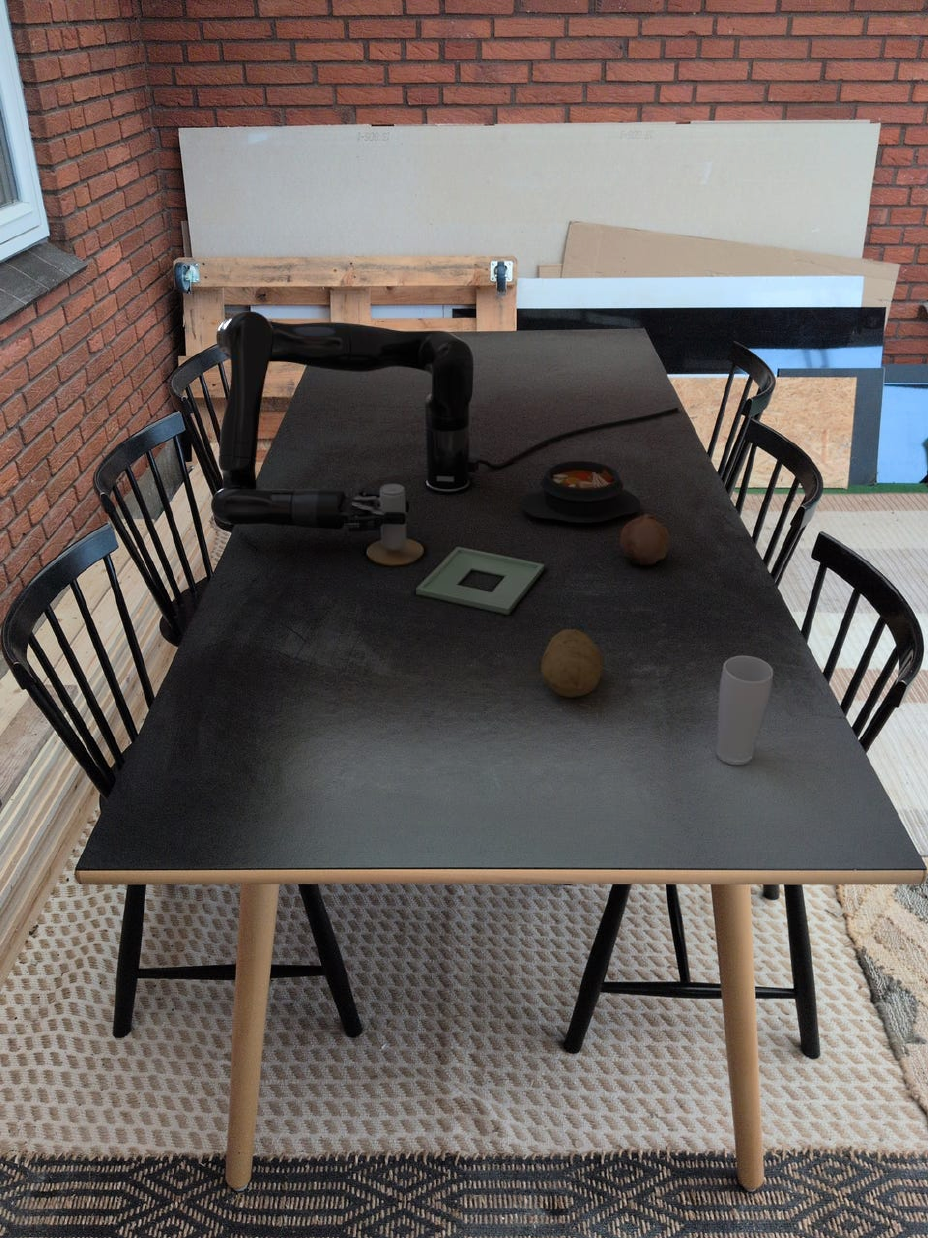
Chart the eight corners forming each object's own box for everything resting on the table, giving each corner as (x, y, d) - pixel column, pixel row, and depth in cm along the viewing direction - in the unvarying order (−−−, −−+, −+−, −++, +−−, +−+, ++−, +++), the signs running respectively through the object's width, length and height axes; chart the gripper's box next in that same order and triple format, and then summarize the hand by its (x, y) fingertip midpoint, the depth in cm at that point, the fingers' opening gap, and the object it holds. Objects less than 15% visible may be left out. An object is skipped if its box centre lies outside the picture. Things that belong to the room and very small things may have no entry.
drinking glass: (703, 742, 150) (716, 655, 142) (749, 739, 151) (764, 653, 143) (717, 772, 145) (731, 684, 137) (764, 769, 145) (781, 681, 137)
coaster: (383, 535, 207) (383, 533, 207) (433, 545, 204) (433, 543, 203) (356, 558, 199) (356, 557, 199) (407, 570, 195) (407, 568, 195)
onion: (637, 565, 203) (643, 514, 202) (677, 569, 196) (682, 516, 195) (606, 563, 196) (612, 510, 195) (646, 567, 189) (652, 512, 189)
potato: (597, 661, 168) (601, 619, 164) (605, 712, 156) (609, 669, 152) (537, 660, 169) (539, 618, 165) (540, 711, 157) (542, 668, 153)
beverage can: (402, 552, 198) (401, 494, 192) (378, 549, 199) (376, 492, 193) (408, 541, 202) (407, 484, 196) (385, 538, 203) (383, 482, 197)
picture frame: (457, 551, 201) (457, 546, 201) (544, 569, 195) (544, 564, 194) (416, 594, 187) (416, 588, 187) (508, 614, 181) (508, 609, 180)
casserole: (627, 490, 226) (631, 454, 221) (649, 528, 210) (653, 490, 206) (514, 495, 224) (515, 459, 219) (528, 534, 208) (529, 495, 203)
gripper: (309, 506, 190) (402, 510, 189) (324, 475, 202) (411, 478, 201) (312, 543, 193) (403, 547, 192) (326, 510, 206) (411, 513, 205)
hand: (406, 512), depth 197 cm, fingers closed on beverage can, 4 cm apart
